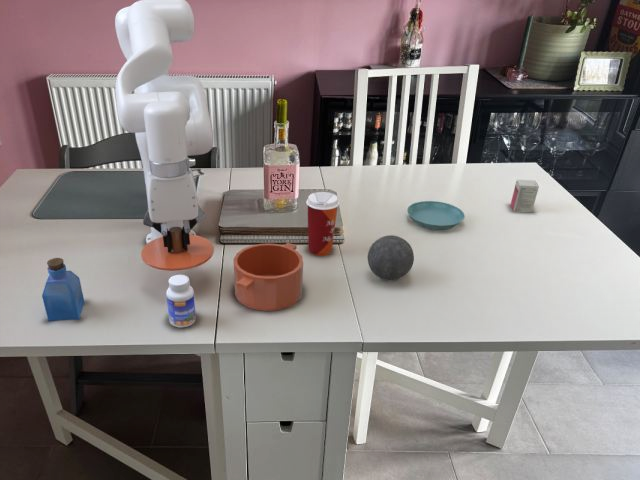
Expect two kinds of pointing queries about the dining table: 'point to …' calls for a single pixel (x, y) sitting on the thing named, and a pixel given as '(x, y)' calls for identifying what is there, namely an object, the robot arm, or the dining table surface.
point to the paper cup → (321, 222)
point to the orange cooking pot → (268, 276)
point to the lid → (177, 252)
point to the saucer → (435, 215)
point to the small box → (524, 195)
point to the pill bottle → (180, 301)
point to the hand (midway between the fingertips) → (177, 247)
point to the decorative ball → (390, 257)
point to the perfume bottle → (62, 292)
